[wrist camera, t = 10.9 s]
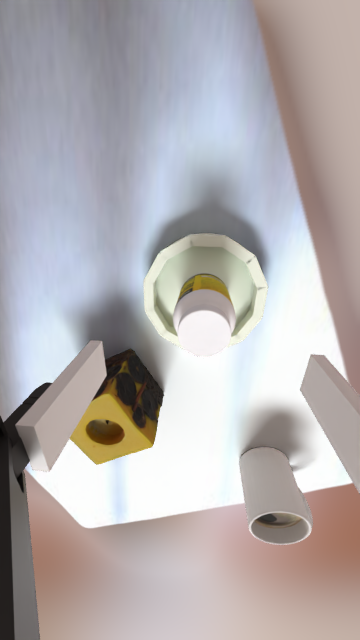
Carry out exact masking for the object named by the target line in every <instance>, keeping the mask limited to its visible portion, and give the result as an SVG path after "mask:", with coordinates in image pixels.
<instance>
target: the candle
mask: <svg viewBox="0 0 360 640" xmlns="http://www.w3.org/2000/svg"><path fill="white" fill-rule="evenodd" d="M105 366H106V373H107V376H106V377H105V379H104V381H103V382H102V384H101V386H100V388H99V389H98V391H97V393H96V394H95V396H94V398H93V399H92V401H91V403H90V404H89V406H88V408H87V409H86V411H85V413H84V415H83V416H82V418H81V420H80V421H79V423H78V425H77V426H76V428H75V430H74V431H73V433H72V435H71V436H70V439H71V440H72V441H73V442H74V443H75V444H76V445H77V446H78V447H79V448H80V449H81V450H82V451H83V452H84V453H85V454H86V455H87V456H88V457H89V458H90V459H91V460H92V461H93V462H94V463H95V464H96V465H98V464H102V463H104V462H107V461H110V460H113V459H116V458H119V457H122V456H125V455H128V454H131V453H135V452H138V451H141V450H144V449H148V448H151V447H152V446H153V444H154V441H155V436H156V431H157V424H158V417H159V411H160V407H161V406H162V402H163V396H164V394H163V392H162V390H161V388H160V387H159V386H158V384H157V382H156V381H154V378H153V377H152V375H150V373H149V371H148V370H147V368H146V367H145V366H144V365H143V364H142V362H141V361H140V359H139V358H138V357H137V355H136V354H135V351H133V350H131V349H129V350H127V351H125V352H123V353H120V354H118V355H115V356H113V357H111V358H109V359H106V360H105Z"/></svg>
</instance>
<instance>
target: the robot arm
mask: <svg viewBox="0 0 360 640" xmlns="http://www.w3.org/2000/svg"><path fill="white" fill-rule="evenodd" d="M106 376H107V373H106V366H105V358H104V351H103V344H102V341H94V340H90V342H89V343H88V344H87V345H86V346H85V347H84V348H83V349H82V351H81V352H80V353H79V354H78V355H77V356H76V357H75V358H74V360H73V361H72V362H71V363H70V364H69V365H68V366H67V367H66V369H65V370H64V371H63V372H62V373H61V374H60V375H59V376H58V377H57V379H56V380H55V381H54V382H53V383H44V384H43V385H41V386H40V387H38V388H36V389H35V390H34V391H33V392H32V393H31V394H30V396H29V397H28V398H27V399H26V400H25V401H24V402H23V404H21V405H20V406H19V407H18V408H17V409H16V410H15V411H14V412H13V413H12V414H11V415H10V416H9V417H8V419H7V420H6V421H5V422H4V423H3V421H2V418H1V416H0V640H40V634H39V623H38V612H37V601H36V590H35V579H34V569H33V557H32V546H31V536H30V525H29V514H28V503H27V492H26V482H25V474H24V471H23V470H24V468H25V467H26V466H27V464H28V463H29V462H30V464H31V467H32V470H36V471H46V472H50V470H51V468H52V467H53V465H54V463H55V462H56V460H57V458H58V457H59V455H60V453H61V452H62V450H63V448H64V447H65V445H66V443H67V441H68V440H69V438H70V436H71V435H72V433H73V431H74V430H75V428H76V426H77V425H78V423H79V421H80V420H81V418H82V416H83V415H84V413H85V411H86V409H87V408H88V406H89V404H90V403H91V401H92V399H93V398H94V396H95V394H96V393H97V391H98V389H99V388H100V386H101V384H102V382H103V381H104V379H105V377H106ZM300 391H301V392H302V394H303V396H304V398H305V399H306V401H307V403H308V405H309V406H310V408H311V410H312V412H313V413H314V415H315V417H316V419H317V420H318V422H319V424H320V426H321V427H322V429H323V431H324V433H325V434H326V436H327V438H328V440H329V441H330V443H331V445H332V446H333V448H334V450H335V452H336V453H337V455H338V457H339V459H340V460H341V462H342V464H343V466H344V467H345V469H346V471H347V473H348V474H349V476H350V478H351V480H352V481H353V483H354V485H355V487H356V488H357V490H358V492H359V494H360V395H359V394H358V393H357V392H356V391H355V390H354V389H353V387H352V386H351V385H350V384H349V383H348V382H347V381H346V380H345V378H344V377H343V376H342V375H341V374H340V373H339V372H338V371H337V369H336V368H335V367H334V366H333V365H332V364H331V363H330V362H329V360H328V359H327V358H326V357H325V356H324V355H311V356H310V359H309V362H308V366H307V369H306V372H305V375H304V378H303V382H302V385H301V388H300Z"/></svg>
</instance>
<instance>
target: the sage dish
mask: <svg viewBox="0 0 360 640" xmlns="http://www.w3.org/2000/svg"><path fill="white" fill-rule="evenodd" d="M199 273H210V274H213V275H215V276H217V277H219V278H220V279H221V280H222V281H223V282H224V283H225V285H226V287H227V289H228V292H229V295H230V298H231V301H232V304H233V307H234V310H235V314H236V324H235V328H234V330H233V332H232V334H231V340H230V342H229V344H228V346H227V347H230V346H232V345H235V344H237V343H240V342H242V341H243V340H244V339H245V338H246V337H247V335H248V334H249V333H250V332H251V331H252V330H253V328H254V327H255V326H256V325H257V324H258V323H259V321H260V320H261V319H262V318H261V317H263V312H264V307H265V302H266V296H267V291H268V287H267V286H268V285H267V282H266V280H265V278H264V275H263V273H262V270H261V268H260V265H259V263H258V260H257V258H256V256H255V255H254V254H252V253H251V252H249V251H248V250H246V249H245V248H244V247H243V246H242V245H240V244H239V243H237V242H236V241H234V240H232V239H230V238H229V237H227V236H226V235H218V234H212V233H198V234H191V235H188V236H186V237H183V238H181V239H179V240H177V241H175V242H174V243H172V244H171V245H169V246H168V247H167V248H165V249H163V250H162V251H160V252H159V254H158V255H157V257H156V259H155V261H154V263H153V264H152V266H151V268H150V270H149V272H148V273H147V275H146V277H145V279H144V281H143V282H144V307H145V313H146V314H147V316H148V317H149V319H150V320H151V322H152V324H153V325H154V327H155V328H156V330H157V332H158V333H159V335H161V337H163V338H165V339H166V340H168V341H170V342H172V343H173V344H175V345H177V346H178V347H180V348H182V349H184V348H183V347H182V346H181V344H180V342H179V340H178V336H177V332H176V330H175V327H174V323H173V314H174V309H175V306H176V303H177V301H178V297H179V294H180V291H181V288H182V286H183V284H184V283H185V282H186V281H187V280H188V279H189V278H190V277H192V276H193V275H196V274H199ZM241 340H242V341H241ZM227 347H226V348H227ZM184 350H185V349H184Z"/></svg>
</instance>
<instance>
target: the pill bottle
mask: <svg viewBox="0 0 360 640" xmlns="http://www.w3.org/2000/svg"><path fill="white" fill-rule="evenodd" d="M173 323H174V327H175V330H176V332H177V336H178V340H179V342H180V344H181V346H182V347H183V348H184V349H185V350H186V351H187V352H188V353H190V354H192V355H194V356H197V357H211V356H215V355H217V354H219V353H221V352H222V351H223V350H224V349H225V348H226V347H227V346H228V344H229V342H230V340H231V334H232V332H233V330H234V328H235V324H236V314H235V310H234V307H233V304H232V301H231V298H230V295H229V292H228V289H227V287H226V285H225V283H224V282H223V281H222V280H221V279H220V278H219V277H217V276H215V275H213V274H210V273H199V274H196V275H193V276H192V277H190V278H189V279H188V280H187V281H186V282H185V283H184V284H183V286H182V288H181V291H180V294H179V297H178V301H177V303H176V306H175V309H174V314H173Z"/></svg>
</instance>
